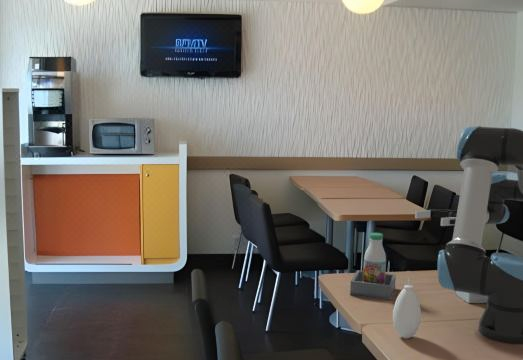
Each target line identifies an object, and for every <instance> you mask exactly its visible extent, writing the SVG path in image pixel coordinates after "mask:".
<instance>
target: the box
mask: <svg viewBox="0 0 523 360" xmlns="http://www.w3.org/2000/svg"><path fill="white" fill-rule="evenodd" d="M396 276H397V275H396V274H391V273H385V285H384V284H376V283H368V282H363V270H359V269H357V270H356V271H355V273H354V274H353V277H352V278H351V280H350V287H349V288H350V291H349V296H355V297H360V298H369V299H378V300H386V301H392V299H393V296H394V292H395V289H396V281H397V280H396V279H397V277H396Z"/></svg>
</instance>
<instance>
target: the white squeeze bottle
mask: <svg viewBox="0 0 523 360" xmlns="http://www.w3.org/2000/svg"><path fill="white" fill-rule="evenodd" d="M410 278H411V277H410V276H409V277H408V281H407V282H408V283H407V284H405V285H404V286H403V289H402V290H401V291H400V292H399V293H398V296H397V297H396V299H395V303H394V306H393V309H392V310H393V311H392V324H393V327H394V330H395V332H396V333H397V334H398V336H399V337H401V338H402V339H410V338H412V337H413V336H415V335H416V334H417V333H418V331H419V328H420V325H421V320H422V319H421V318H422V310H421V304H420V301H419V300H420V299H419V298H418V295H417V293H416V291H415V290H414V286H413V285H412V284H411V279H410Z"/></svg>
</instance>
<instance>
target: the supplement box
mask: <svg viewBox="0 0 523 360" xmlns="http://www.w3.org/2000/svg"><path fill="white" fill-rule="evenodd" d="M485 257H488V256H486V255H485ZM456 296H457V297H459V298H460V299H461V300H463V301H464V302H466V303H467V304H483V303H484V304H487V299H488V297H487V296H483V295H477V294H472V293H466V292H461V291H456Z"/></svg>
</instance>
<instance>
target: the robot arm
mask: <svg viewBox="0 0 523 360" xmlns="http://www.w3.org/2000/svg"><path fill="white" fill-rule="evenodd" d="M456 160H457V161H459V162H460V163H459V164H460V167H461V168H462V169H463V174H462V181H461V188H460V193H459V199H458V204H457V205H458V206H457V209H454V210H453V209H440V208H439V209H436V208H425V210H415V212H414V214H415V215H414V218H415V219H430V218H440V226H441V227H448V226H450V227H451V226H454V227H453V234H452V239H451V240H450V241H448V242H447V243H446V244H445V249H441V250H439V251H438V255H437V278H438V283H439V285H440V286H441V287H442V288H443V289H445V290H452V291H454V292H457V291H461V292H466V293H472V294H477V295H483V296H487V297H488V299H487V303H486V306H485V308H484V311H483V313H482V315H481V317H480V319H479V321H478V331H479V333H480V334H481V335H483V336H485V337H487V338H489V339H492V340H495V341H497V342H502V343H507V344H523V257H522V256H517V255H515V254H511V253H506V252H499V251H498V252H497V251H496V252H493V253H491V255H490V256H487V257H485V256H486V252H487V251H486V250H485V248H484V247H483V246H482V244H483V242H482V241H483V235H484V230H485V225H498V224H503V223H505V222H507V221H508V220H509V218H510V211H509V207H508V206H507V205H506V204H505V200H508V201H519V202H523V130H522V129H518V128H514V127H508V128H507V127H492V126H491V127H489V126H481V125H479V126H468V127H465V128H464V129H463V130H462V132H461V134H460V136H459V139H458V142H457V149H456ZM500 165H505V166H514V167H515V170H516V174H517V175H516V176H517V179H508V178H507V175H506V174H505V173H499V172H498V170H499V169H500V167H499V166H500Z"/></svg>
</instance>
